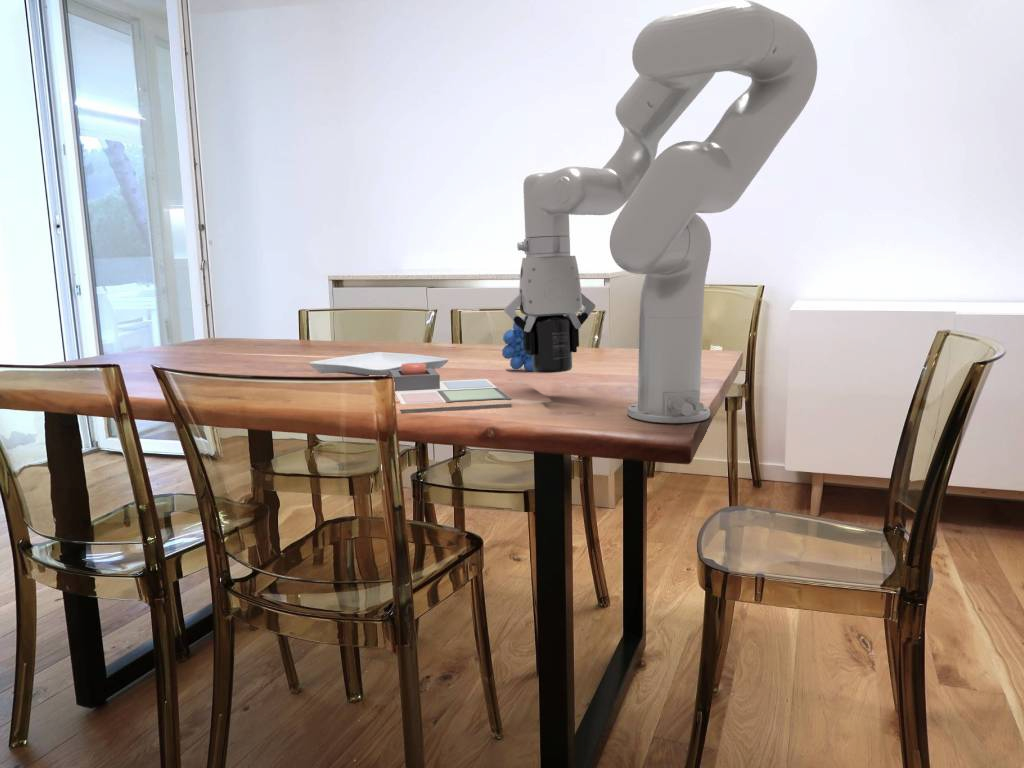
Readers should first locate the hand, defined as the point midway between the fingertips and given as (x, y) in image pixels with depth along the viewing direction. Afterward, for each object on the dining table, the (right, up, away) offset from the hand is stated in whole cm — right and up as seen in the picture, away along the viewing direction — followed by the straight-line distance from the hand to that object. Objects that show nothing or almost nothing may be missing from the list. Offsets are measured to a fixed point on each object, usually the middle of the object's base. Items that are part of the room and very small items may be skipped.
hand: (551, 352), depth 143 cm
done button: (-24, -4, +5) cm, 25 cm away
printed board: (-18, -8, +1) cm, 20 cm away
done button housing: (-24, -6, +5) cm, 26 cm away
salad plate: (-34, -4, +30) cm, 46 cm away
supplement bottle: (0, -3, 0) cm, 3 cm away
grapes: (-3, -3, +32) cm, 32 cm away
